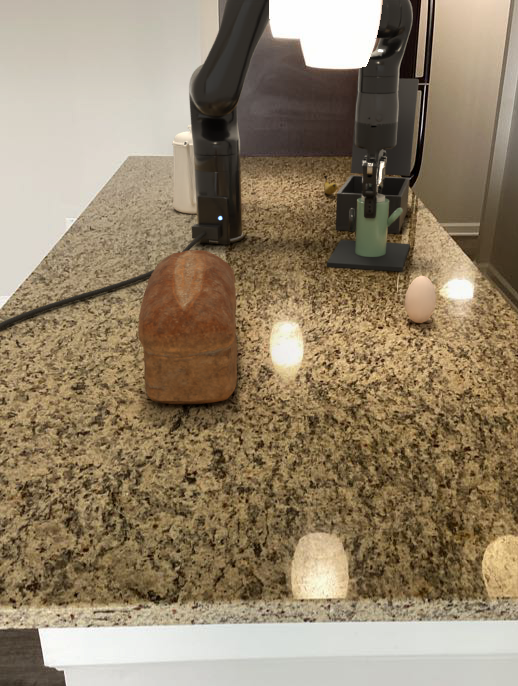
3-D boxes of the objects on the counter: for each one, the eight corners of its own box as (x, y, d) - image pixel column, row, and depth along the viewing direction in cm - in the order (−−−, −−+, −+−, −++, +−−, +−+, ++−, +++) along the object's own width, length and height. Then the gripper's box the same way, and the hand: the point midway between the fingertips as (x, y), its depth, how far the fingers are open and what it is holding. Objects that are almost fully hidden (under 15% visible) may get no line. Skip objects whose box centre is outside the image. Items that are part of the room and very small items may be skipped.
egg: (409, 328, 119) (412, 281, 116) (399, 318, 123) (402, 272, 120) (438, 326, 120) (442, 279, 117) (427, 316, 124) (431, 270, 121)
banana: (338, 199, 195) (339, 183, 193) (329, 200, 195) (329, 183, 193) (329, 190, 204) (330, 175, 202) (320, 191, 203) (321, 175, 201)
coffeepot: (165, 223, 175) (158, 133, 166) (180, 197, 197) (175, 117, 188) (213, 223, 175) (209, 134, 166) (224, 197, 197) (221, 117, 188)
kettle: (401, 250, 154) (405, 187, 148) (398, 258, 148) (402, 194, 143) (350, 246, 156) (352, 184, 150) (345, 255, 150) (347, 191, 145)
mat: (401, 271, 144) (402, 267, 144) (326, 266, 147) (326, 262, 146) (409, 247, 158) (409, 243, 157) (340, 243, 161) (340, 239, 160)
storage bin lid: (418, 79, 175) (418, 79, 175) (357, 77, 177) (358, 78, 178) (409, 175, 180) (409, 175, 180) (350, 172, 182) (351, 173, 183)
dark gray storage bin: (398, 233, 167) (401, 196, 163) (335, 230, 170) (336, 193, 166) (407, 212, 184) (409, 177, 180) (349, 208, 187) (350, 175, 183)
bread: (138, 416, 95) (127, 310, 88) (158, 323, 122) (151, 236, 115) (239, 413, 95) (236, 307, 89) (237, 321, 122) (234, 234, 116)
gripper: (361, 113, 147) (357, 203, 155) (349, 124, 135) (346, 222, 143) (401, 114, 146) (395, 205, 154) (393, 125, 133) (387, 224, 142)
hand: (372, 213), depth 148 cm, fingers closed on kettle, 6 cm apart
